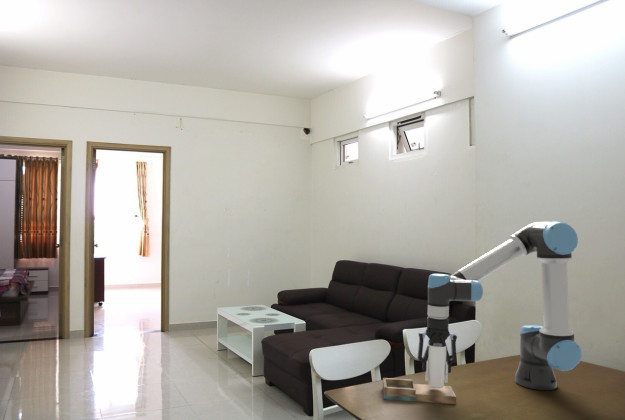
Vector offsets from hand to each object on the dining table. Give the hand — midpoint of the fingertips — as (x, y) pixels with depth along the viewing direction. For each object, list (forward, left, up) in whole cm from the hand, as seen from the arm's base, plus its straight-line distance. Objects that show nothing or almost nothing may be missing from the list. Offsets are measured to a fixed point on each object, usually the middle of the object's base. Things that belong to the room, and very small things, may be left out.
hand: (436, 380), depth 177 cm
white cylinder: (0, 0, -2) cm, 2 cm away
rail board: (+6, 0, -6) cm, 8 cm away
